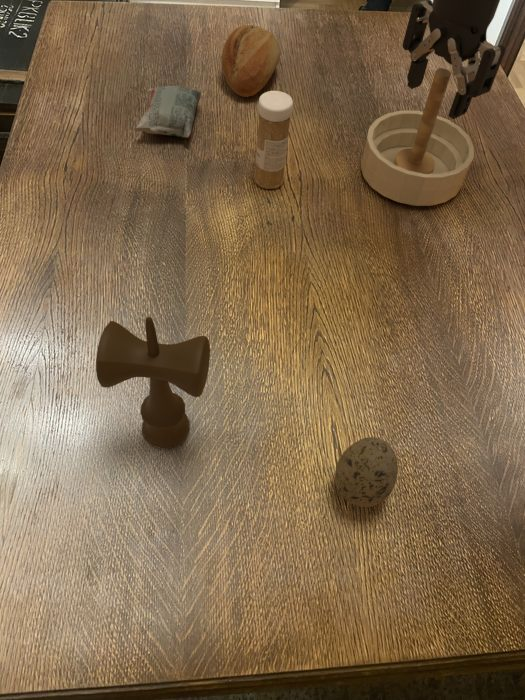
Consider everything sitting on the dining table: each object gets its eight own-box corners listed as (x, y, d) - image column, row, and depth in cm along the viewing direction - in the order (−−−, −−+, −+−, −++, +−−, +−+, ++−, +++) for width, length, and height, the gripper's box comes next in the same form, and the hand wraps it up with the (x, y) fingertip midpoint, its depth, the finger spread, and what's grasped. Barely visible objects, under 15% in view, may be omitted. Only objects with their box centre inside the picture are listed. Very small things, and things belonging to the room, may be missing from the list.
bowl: (446, 143, 98) (457, 110, 94) (472, 209, 90) (487, 176, 85) (352, 143, 97) (359, 110, 92) (370, 210, 88) (378, 177, 83)
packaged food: (135, 143, 94) (132, 115, 90) (150, 99, 101) (148, 71, 97) (191, 149, 94) (190, 121, 90) (202, 105, 101) (202, 77, 97)
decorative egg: (347, 452, 66) (366, 407, 58) (396, 483, 64) (422, 441, 56) (319, 495, 63) (334, 453, 55) (369, 528, 61) (392, 490, 53)
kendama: (129, 400, 68) (100, 282, 51) (214, 412, 68) (212, 297, 51) (115, 448, 64) (79, 339, 48) (205, 461, 64) (199, 355, 48)
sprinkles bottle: (254, 170, 92) (259, 88, 81) (284, 171, 92) (292, 90, 81) (253, 190, 89) (258, 108, 78) (284, 191, 89) (293, 110, 78)
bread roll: (212, 97, 102) (212, 51, 95) (232, 52, 110) (233, 6, 104) (268, 107, 101) (271, 61, 95) (284, 60, 110) (288, 15, 103)
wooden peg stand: (426, 158, 95) (459, 60, 82) (435, 184, 91) (471, 85, 78) (388, 158, 94) (416, 59, 81) (396, 184, 91) (426, 85, 78)
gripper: (544, -9, 68) (490, 120, 81) (454, -59, 74) (418, 68, 88) (499, 6, 65) (451, 137, 78) (409, -47, 71) (379, 82, 85)
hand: (433, 100), depth 83 cm, fingers open, 7 cm apart
